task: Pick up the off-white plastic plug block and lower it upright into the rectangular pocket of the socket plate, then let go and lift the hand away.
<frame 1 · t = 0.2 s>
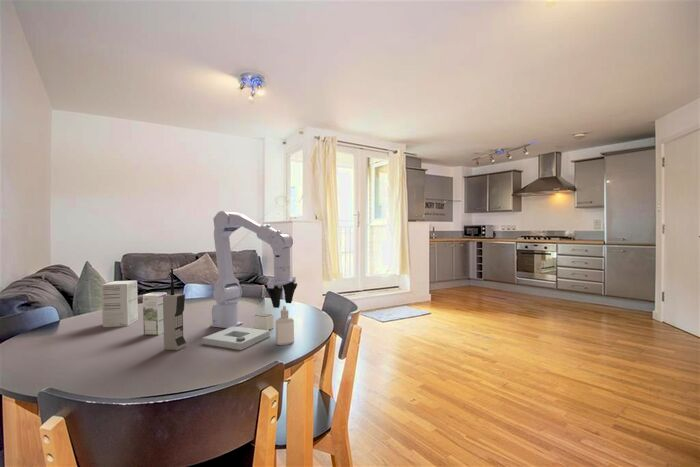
hand: (282, 305, 120), 10 cm above the table, tool pointing down, fingers open, 7 cm apart
plug block: (263, 328, 124), on the table
supplement box: (121, 324, 135), on the table
socket plate: (237, 340, 111), on the table
eye dropper bottle: (285, 343, 107), on the table
vintage mobile phone: (175, 348, 104), on the table
syrup box: (155, 333, 121), on the table
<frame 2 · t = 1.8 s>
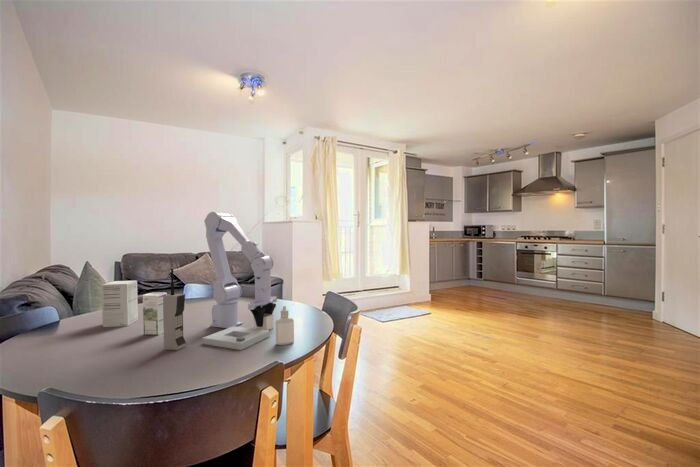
hand: (263, 324, 124), 1 cm above the table, tool pointing down, fingers closed on plug block, 4 cm apart
plug block: (263, 328, 124), on the table, touching gripper
everything else where it was.
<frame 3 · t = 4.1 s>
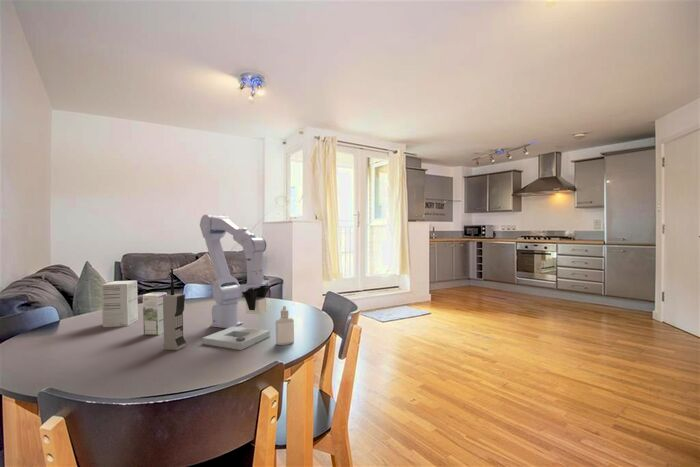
hand: (255, 308, 120), 8 cm above the table, tool pointing down, fingers closed on plug block, 4 cm apart
plug block: (256, 312, 120), point 7 cm above the table, touching gripper
everything else where it was.
when the fingers open (3 cm above the table, at t = 6.5 s): plug block drops 2 cm, resting in socket plate.
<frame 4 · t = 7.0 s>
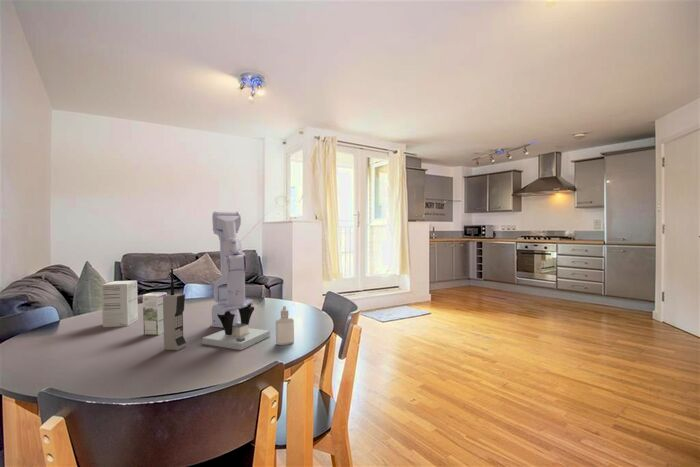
hand: (236, 331, 111), 3 cm above the table, tool pointing down, fingers open, 7 cm apart
plug block: (237, 340, 111), resting in socket plate
everything else where it was.
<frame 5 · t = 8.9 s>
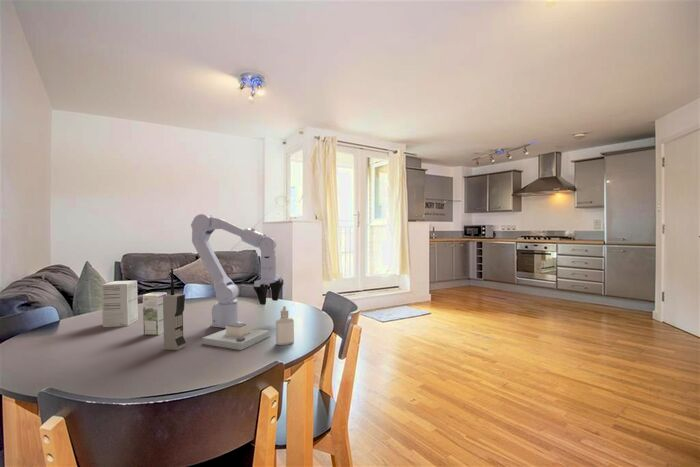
hand: (269, 302, 130), 8 cm above the table, tool pointing down, fingers open, 7 cm apart
nothing on the table moved.
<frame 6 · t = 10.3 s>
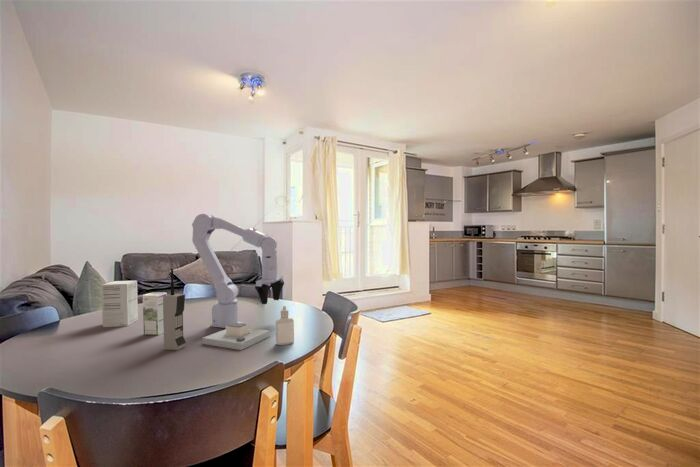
hand: (270, 301, 131), 8 cm above the table, tool pointing down, fingers open, 7 cm apart
nothing on the table moved.
at the end: plug block 0.1 cm off-centre on the socket plate, point 0.0 cm above the socket plate's base; plug block tilted 0°; the gripper is holding nothing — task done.
